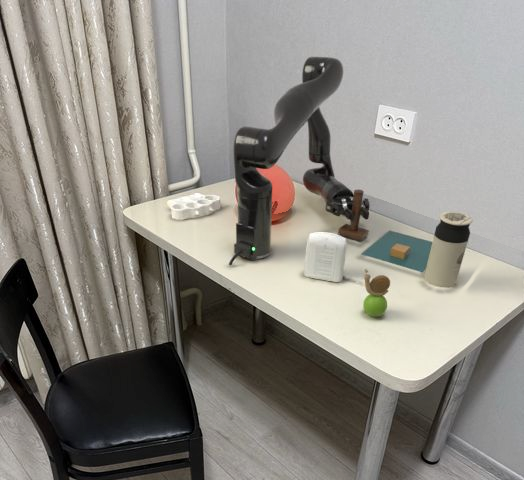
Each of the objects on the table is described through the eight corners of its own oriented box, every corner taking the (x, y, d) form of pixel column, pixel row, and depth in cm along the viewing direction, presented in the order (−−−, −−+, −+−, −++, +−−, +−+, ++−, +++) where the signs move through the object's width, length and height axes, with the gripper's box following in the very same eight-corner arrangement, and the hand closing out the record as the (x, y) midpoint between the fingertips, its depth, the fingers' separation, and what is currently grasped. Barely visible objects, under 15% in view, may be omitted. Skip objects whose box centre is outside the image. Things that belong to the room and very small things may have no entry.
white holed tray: (204, 198, 174) (228, 211, 165) (159, 210, 165) (183, 224, 156) (203, 188, 172) (228, 201, 163) (158, 200, 163) (182, 214, 154)
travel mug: (416, 281, 129) (432, 215, 119) (435, 273, 133) (452, 208, 122) (442, 294, 125) (460, 226, 114) (461, 285, 128) (480, 218, 117)
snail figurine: (355, 308, 119) (362, 263, 111) (381, 307, 119) (390, 263, 112) (360, 321, 114) (368, 275, 107) (387, 320, 115) (397, 274, 108)
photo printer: (343, 276, 131) (349, 232, 124) (341, 284, 128) (346, 239, 120) (306, 270, 133) (309, 227, 126) (302, 277, 130) (305, 233, 123)
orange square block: (403, 259, 137) (404, 252, 135) (389, 255, 139) (391, 248, 137) (408, 254, 139) (410, 247, 138) (395, 250, 141) (396, 243, 140)
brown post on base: (360, 246, 146) (367, 196, 137) (337, 239, 149) (343, 190, 140) (367, 240, 149) (374, 191, 140) (344, 234, 152) (350, 185, 143)
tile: (421, 276, 132) (422, 272, 131) (360, 257, 140) (360, 253, 139) (446, 249, 145) (447, 245, 144) (388, 233, 153) (389, 230, 152)
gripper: (316, 185, 151) (338, 206, 138) (359, 182, 154) (384, 202, 141) (314, 209, 155) (335, 231, 142) (356, 205, 158) (380, 227, 145)
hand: (359, 216), depth 142 cm, fingers open, 4 cm apart
